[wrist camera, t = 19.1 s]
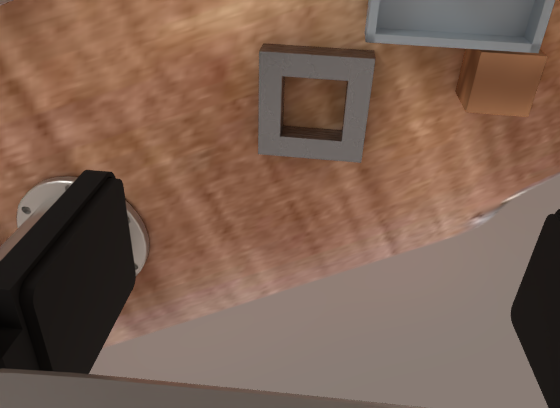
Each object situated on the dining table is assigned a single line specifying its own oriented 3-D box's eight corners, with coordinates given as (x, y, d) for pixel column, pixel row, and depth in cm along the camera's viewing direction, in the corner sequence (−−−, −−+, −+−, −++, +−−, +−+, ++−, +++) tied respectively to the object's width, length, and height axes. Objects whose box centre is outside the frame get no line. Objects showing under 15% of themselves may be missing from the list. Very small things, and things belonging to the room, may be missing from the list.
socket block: (360, 151, 40) (361, 162, 38) (262, 142, 40) (258, 154, 39) (374, 50, 35) (375, 58, 34) (263, 43, 36) (259, 51, 34)
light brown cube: (511, 95, 36) (528, 117, 33) (455, 91, 36) (466, 112, 33) (528, 39, 34) (547, 56, 30) (468, 35, 34) (481, 52, 31)
